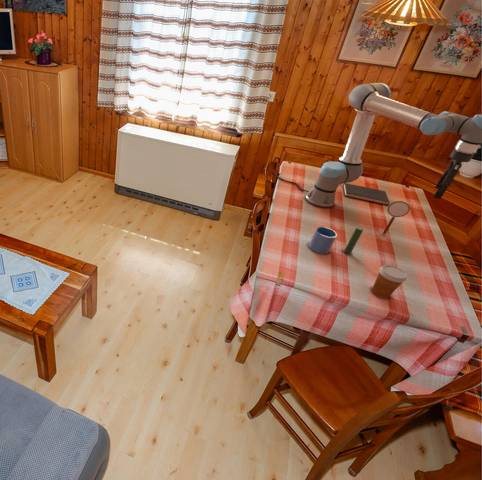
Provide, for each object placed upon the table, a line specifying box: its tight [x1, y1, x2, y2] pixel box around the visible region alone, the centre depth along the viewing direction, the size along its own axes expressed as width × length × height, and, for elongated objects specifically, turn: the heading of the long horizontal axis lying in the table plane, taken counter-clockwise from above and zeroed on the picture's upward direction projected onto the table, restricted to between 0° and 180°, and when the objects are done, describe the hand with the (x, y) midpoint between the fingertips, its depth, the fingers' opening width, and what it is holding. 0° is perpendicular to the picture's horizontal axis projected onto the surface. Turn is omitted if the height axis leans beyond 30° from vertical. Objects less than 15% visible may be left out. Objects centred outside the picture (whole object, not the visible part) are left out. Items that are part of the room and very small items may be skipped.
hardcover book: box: [342, 182, 390, 206], centre depth 231 cm, size 16×23×2 cm
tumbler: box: [308, 226, 338, 255], centre depth 179 cm, size 9×9×10 cm
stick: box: [343, 226, 365, 255], centre depth 176 cm, size 3×3×14 cm
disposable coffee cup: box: [371, 264, 408, 299], centre depth 154 cm, size 10×10×12 cm
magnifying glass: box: [382, 200, 411, 236], centre depth 189 cm, size 9×2×20 cm, turn 63°
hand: (437, 193), depth 180 cm, fingers open, 13 cm apart
